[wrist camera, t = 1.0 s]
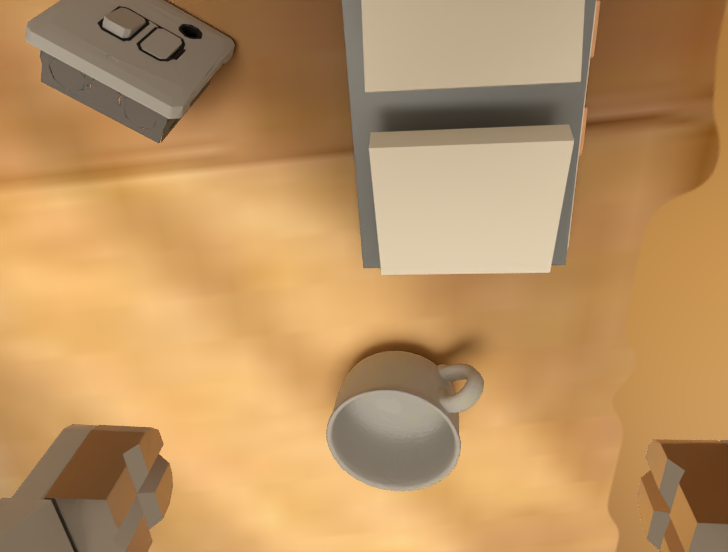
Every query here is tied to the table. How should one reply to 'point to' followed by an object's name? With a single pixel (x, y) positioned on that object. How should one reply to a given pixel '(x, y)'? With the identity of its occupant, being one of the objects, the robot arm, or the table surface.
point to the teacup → (400, 420)
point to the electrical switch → (129, 58)
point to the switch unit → (460, 118)
